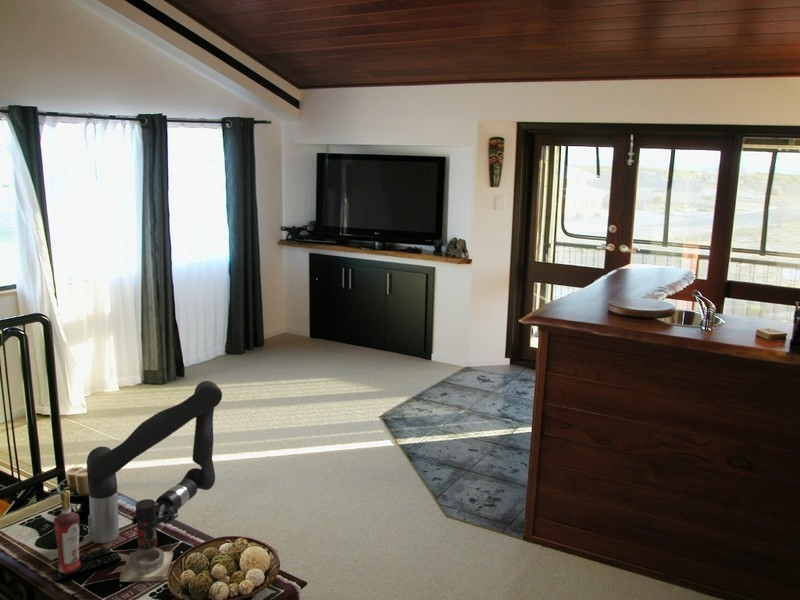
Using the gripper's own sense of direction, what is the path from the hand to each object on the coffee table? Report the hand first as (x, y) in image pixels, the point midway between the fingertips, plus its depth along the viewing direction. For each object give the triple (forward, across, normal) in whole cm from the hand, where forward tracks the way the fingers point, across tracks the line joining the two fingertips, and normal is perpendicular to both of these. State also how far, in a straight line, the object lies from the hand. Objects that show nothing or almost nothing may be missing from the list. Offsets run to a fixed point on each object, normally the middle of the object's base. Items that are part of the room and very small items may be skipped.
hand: (141, 524), depth 225 cm
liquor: (+8, -23, +18) cm, 30 cm away
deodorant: (-2, 0, +9) cm, 10 cm away
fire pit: (-2, 0, +18) cm, 18 cm away
